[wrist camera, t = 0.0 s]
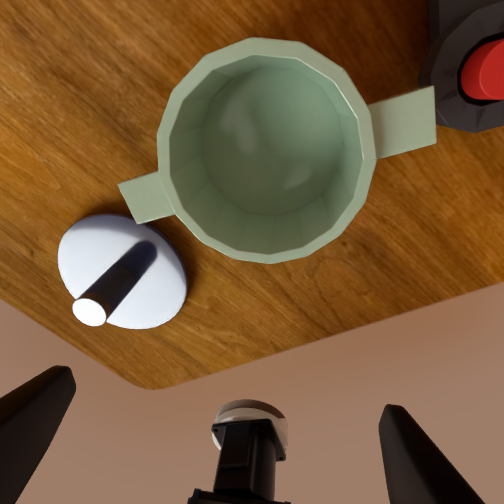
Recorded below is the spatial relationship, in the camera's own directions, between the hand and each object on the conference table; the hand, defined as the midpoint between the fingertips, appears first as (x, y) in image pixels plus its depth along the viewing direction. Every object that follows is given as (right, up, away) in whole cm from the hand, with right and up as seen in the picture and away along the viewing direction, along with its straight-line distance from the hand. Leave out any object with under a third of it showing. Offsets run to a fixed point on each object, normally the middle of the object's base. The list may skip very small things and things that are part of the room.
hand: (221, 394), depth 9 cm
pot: (+2, +11, +11) cm, 16 cm away
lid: (-10, +2, +16) cm, 19 cm away
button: (+12, +13, +6) cm, 19 cm away
